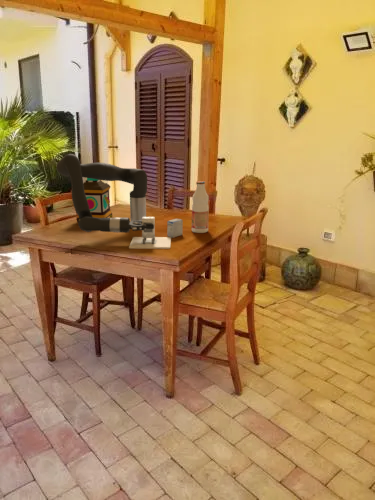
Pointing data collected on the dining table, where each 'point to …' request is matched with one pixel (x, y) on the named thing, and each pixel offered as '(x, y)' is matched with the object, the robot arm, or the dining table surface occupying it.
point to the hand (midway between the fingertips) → (153, 225)
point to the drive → (148, 232)
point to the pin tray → (150, 243)
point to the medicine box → (174, 227)
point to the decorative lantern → (97, 198)
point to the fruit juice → (200, 209)
